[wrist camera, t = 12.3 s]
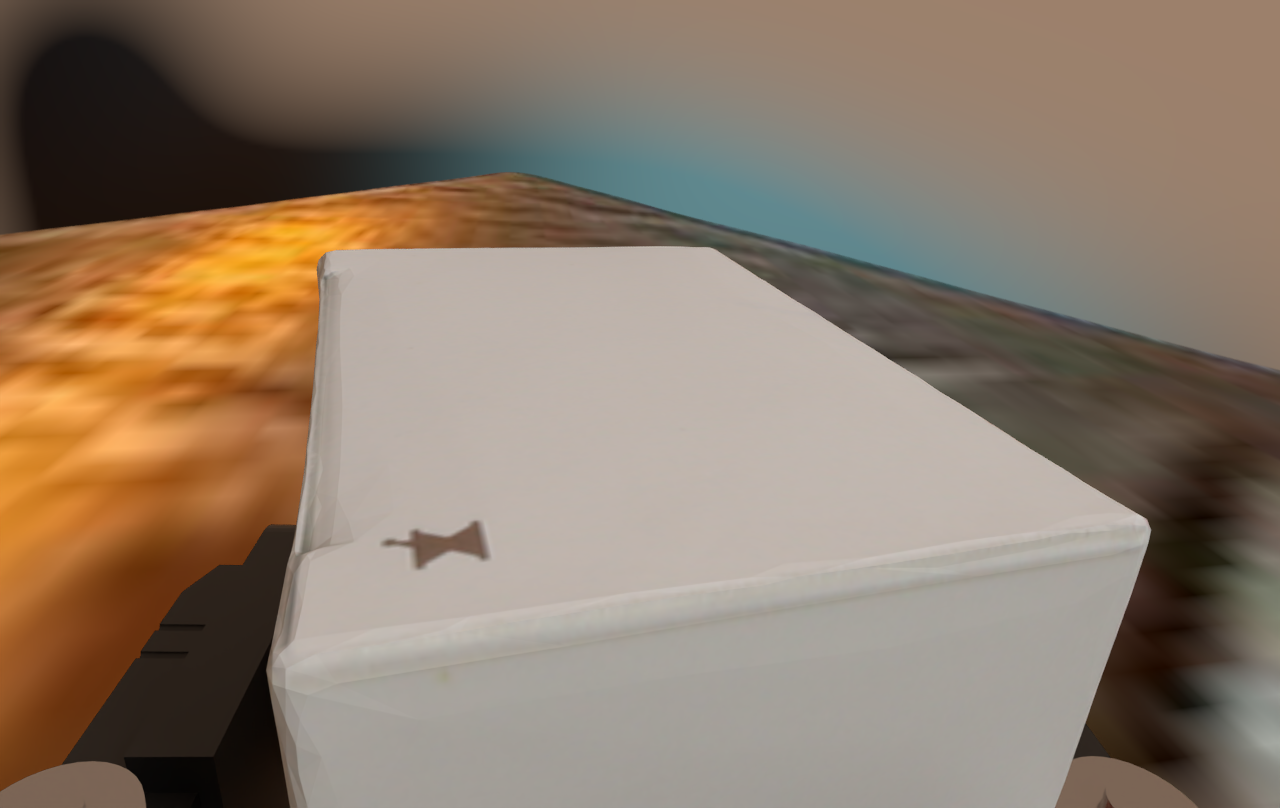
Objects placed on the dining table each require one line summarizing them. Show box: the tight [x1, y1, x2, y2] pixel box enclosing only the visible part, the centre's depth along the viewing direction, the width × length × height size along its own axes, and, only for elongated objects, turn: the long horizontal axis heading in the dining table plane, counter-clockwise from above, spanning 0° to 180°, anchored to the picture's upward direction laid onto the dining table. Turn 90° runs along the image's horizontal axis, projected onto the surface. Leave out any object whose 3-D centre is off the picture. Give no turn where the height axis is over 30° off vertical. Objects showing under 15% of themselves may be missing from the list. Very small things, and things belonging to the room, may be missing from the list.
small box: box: [266, 246, 1151, 808], centre depth 10 cm, size 8×6×10 cm
